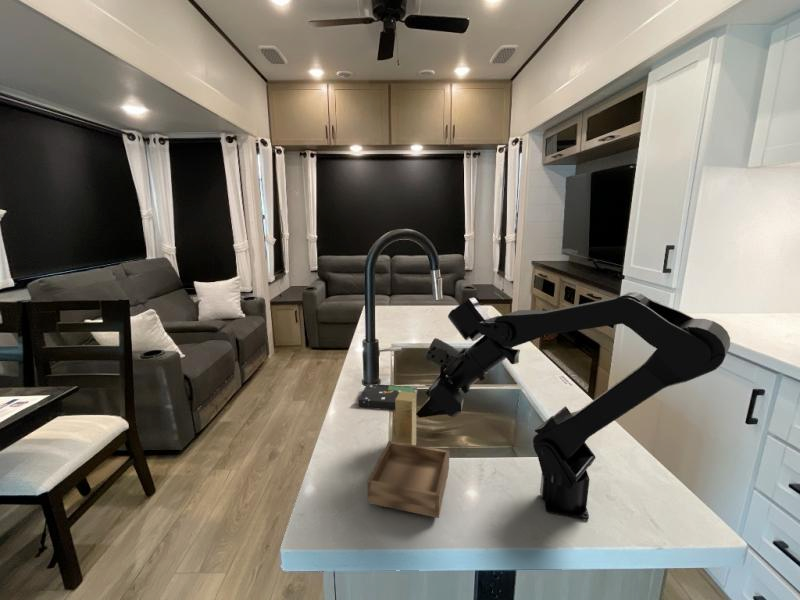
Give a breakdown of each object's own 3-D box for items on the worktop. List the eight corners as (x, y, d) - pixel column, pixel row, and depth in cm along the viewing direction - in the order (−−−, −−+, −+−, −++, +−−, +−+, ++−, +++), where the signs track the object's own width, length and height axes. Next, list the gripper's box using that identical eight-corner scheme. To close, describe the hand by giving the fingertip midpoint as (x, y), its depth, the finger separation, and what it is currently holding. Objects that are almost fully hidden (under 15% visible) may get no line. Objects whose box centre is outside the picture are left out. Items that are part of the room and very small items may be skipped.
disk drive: (358, 409, 94) (414, 412, 92) (357, 399, 93) (414, 402, 91) (366, 392, 104) (417, 394, 102) (366, 383, 103) (417, 385, 102)
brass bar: (416, 443, 78) (416, 392, 76) (411, 454, 74) (412, 401, 72) (400, 441, 79) (400, 391, 76) (395, 452, 75) (395, 399, 73)
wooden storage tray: (448, 474, 68) (449, 450, 67) (438, 523, 57) (439, 495, 56) (388, 463, 71) (388, 441, 70) (367, 508, 60) (367, 481, 59)
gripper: (456, 316, 78) (407, 359, 83) (443, 342, 60) (381, 395, 65) (492, 354, 77) (440, 395, 82) (489, 392, 59) (423, 441, 65)
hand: (422, 404), depth 74 cm, fingers open, 9 cm apart
